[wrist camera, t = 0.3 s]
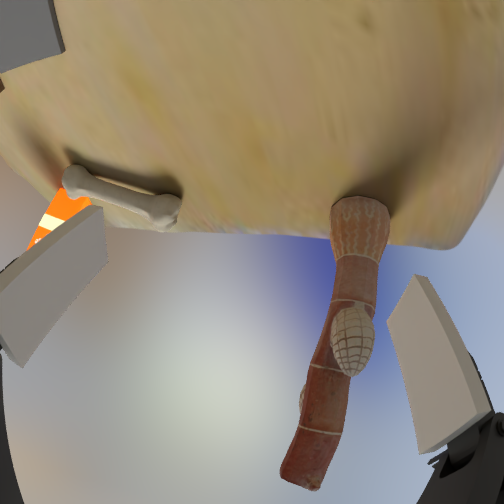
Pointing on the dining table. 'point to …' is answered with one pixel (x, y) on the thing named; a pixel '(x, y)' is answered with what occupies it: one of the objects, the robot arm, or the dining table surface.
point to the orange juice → (58, 214)
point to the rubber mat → (28, 32)
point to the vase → (339, 338)
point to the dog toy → (123, 197)
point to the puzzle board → (1, 86)
